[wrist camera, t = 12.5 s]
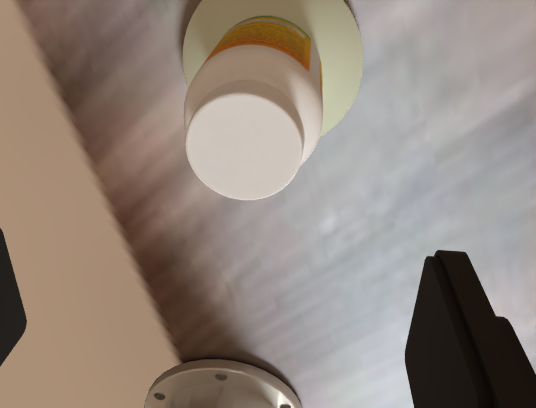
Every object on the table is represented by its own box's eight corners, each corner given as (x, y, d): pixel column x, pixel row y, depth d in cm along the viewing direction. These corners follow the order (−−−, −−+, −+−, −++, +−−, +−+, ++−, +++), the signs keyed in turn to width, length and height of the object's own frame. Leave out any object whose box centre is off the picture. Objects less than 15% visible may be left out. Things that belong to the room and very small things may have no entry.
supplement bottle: (194, 45, 25) (130, 115, 16) (291, -9, 23) (276, 37, 15) (247, 137, 27) (215, 239, 19) (339, 93, 25) (350, 183, 17)
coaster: (351, 147, 28) (353, 154, 27) (191, 138, 28) (187, 144, 27) (373, -32, 23) (375, -30, 22) (180, -39, 24) (176, -37, 23)
